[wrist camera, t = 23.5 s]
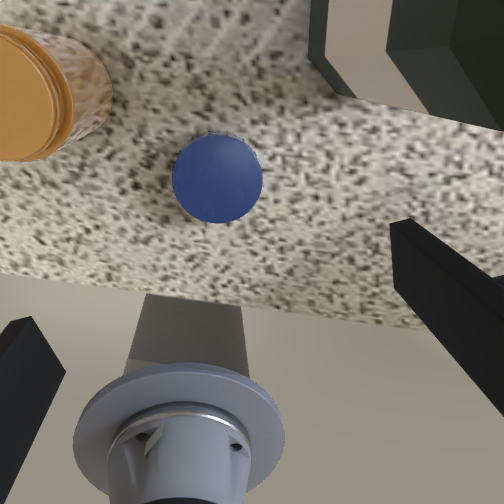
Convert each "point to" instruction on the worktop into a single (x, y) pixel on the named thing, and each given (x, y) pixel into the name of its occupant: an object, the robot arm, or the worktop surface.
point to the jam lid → (217, 177)
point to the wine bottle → (415, 55)
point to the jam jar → (48, 93)
